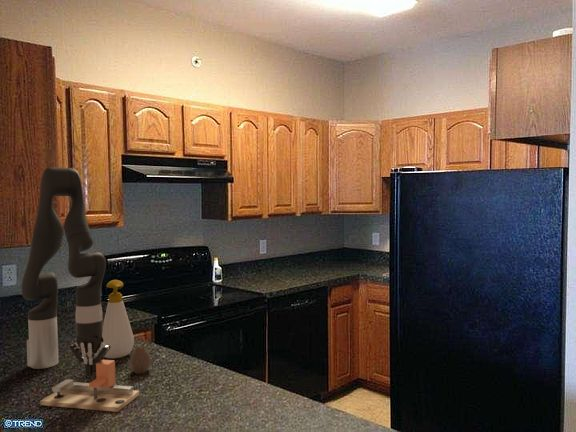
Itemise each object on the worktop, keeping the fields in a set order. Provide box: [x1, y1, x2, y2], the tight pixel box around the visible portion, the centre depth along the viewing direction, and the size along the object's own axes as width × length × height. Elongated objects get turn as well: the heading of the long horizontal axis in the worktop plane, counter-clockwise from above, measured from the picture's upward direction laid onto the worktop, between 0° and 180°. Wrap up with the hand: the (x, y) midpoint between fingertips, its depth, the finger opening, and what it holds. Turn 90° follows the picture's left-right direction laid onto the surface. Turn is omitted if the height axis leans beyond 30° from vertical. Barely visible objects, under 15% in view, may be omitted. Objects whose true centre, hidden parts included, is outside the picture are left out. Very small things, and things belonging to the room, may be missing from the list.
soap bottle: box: [99, 279, 135, 360], centre depth 183 cm, size 13×10×29 cm
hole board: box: [39, 389, 141, 413], centre depth 146 cm, size 25×12×1 cm, turn 78°
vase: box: [129, 344, 152, 374], centre depth 168 cm, size 7×7×9 cm
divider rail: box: [51, 378, 134, 397], centre depth 146 cm, size 23×8×3 cm, turn 78°
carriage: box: [88, 359, 116, 399], centre depth 145 cm, size 4×8×9 cm, turn 168°
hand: (91, 375), depth 149 cm, fingers closed
